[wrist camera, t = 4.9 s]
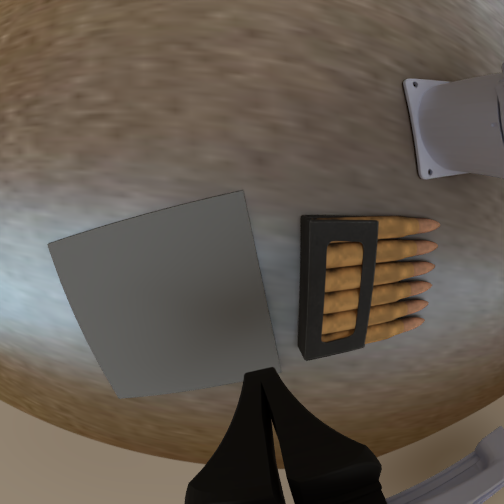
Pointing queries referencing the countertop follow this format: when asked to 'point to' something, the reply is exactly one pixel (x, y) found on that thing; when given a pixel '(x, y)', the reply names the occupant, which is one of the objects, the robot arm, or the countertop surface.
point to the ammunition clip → (358, 280)
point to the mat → (171, 297)
